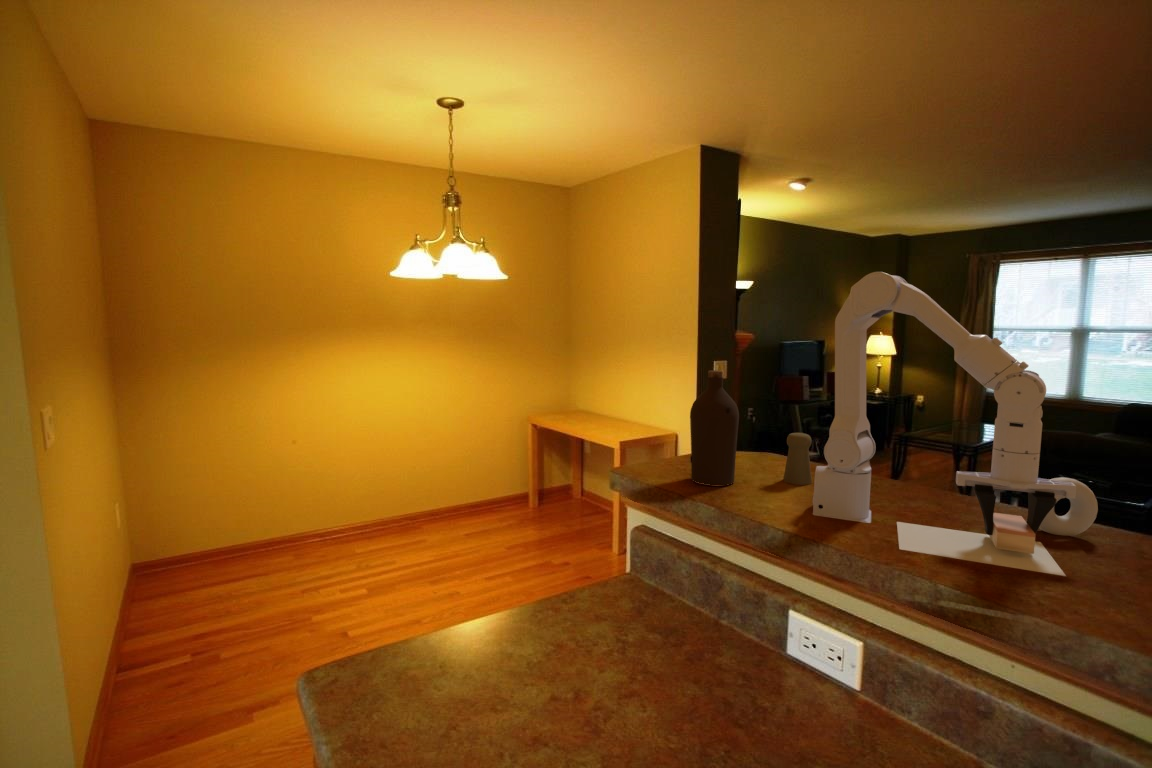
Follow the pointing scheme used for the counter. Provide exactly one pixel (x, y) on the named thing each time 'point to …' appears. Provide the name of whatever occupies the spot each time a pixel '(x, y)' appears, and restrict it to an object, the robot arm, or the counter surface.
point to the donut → (1072, 512)
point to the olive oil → (714, 434)
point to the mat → (972, 548)
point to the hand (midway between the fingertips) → (1008, 535)
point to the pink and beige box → (1012, 533)
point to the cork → (798, 459)
